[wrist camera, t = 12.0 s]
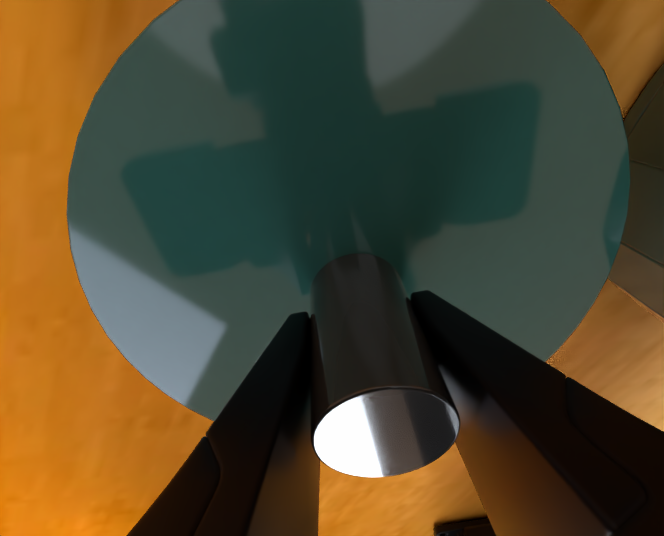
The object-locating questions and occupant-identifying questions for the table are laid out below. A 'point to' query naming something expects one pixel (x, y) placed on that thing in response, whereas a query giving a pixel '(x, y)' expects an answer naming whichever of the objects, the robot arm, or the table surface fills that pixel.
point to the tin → (644, 203)
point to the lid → (346, 200)
